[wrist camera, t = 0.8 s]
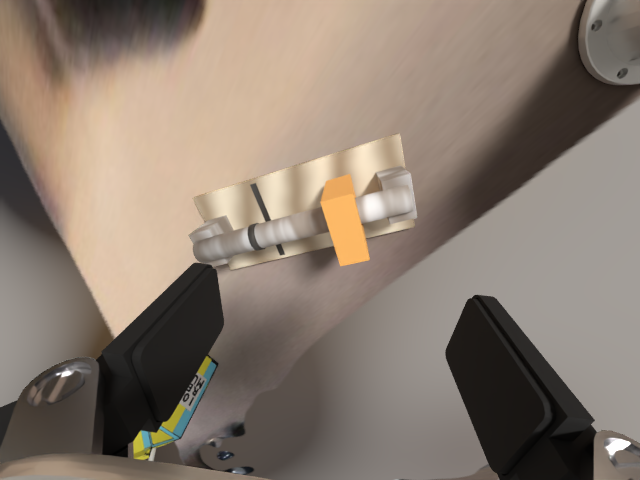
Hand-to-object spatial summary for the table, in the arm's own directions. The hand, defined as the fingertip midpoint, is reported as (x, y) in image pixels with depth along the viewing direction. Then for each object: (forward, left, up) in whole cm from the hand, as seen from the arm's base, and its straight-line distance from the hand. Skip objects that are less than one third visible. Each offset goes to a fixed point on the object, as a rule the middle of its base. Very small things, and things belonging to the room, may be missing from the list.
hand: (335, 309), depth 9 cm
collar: (0, +3, -23) cm, 23 cm away
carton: (+38, +28, -26) cm, 54 cm away
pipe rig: (+6, +3, -25) cm, 26 cm away
